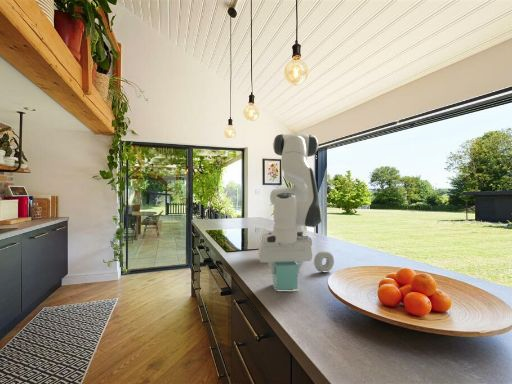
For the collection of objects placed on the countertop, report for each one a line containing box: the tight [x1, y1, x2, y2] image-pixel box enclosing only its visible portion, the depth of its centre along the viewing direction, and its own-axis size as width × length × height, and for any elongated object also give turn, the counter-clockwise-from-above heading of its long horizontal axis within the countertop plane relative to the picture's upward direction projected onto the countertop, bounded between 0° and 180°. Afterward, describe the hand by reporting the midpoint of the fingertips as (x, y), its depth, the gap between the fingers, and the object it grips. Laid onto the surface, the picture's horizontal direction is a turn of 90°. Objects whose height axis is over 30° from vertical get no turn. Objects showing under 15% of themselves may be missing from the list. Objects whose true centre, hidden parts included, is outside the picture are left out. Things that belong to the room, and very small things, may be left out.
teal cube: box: [272, 262, 299, 291], centre depth 98 cm, size 8×8×9 cm
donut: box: [313, 249, 335, 273], centre depth 116 cm, size 10×3×10 cm, turn 111°
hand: (285, 273), depth 97 cm, fingers closed on teal cube, 8 cm apart
